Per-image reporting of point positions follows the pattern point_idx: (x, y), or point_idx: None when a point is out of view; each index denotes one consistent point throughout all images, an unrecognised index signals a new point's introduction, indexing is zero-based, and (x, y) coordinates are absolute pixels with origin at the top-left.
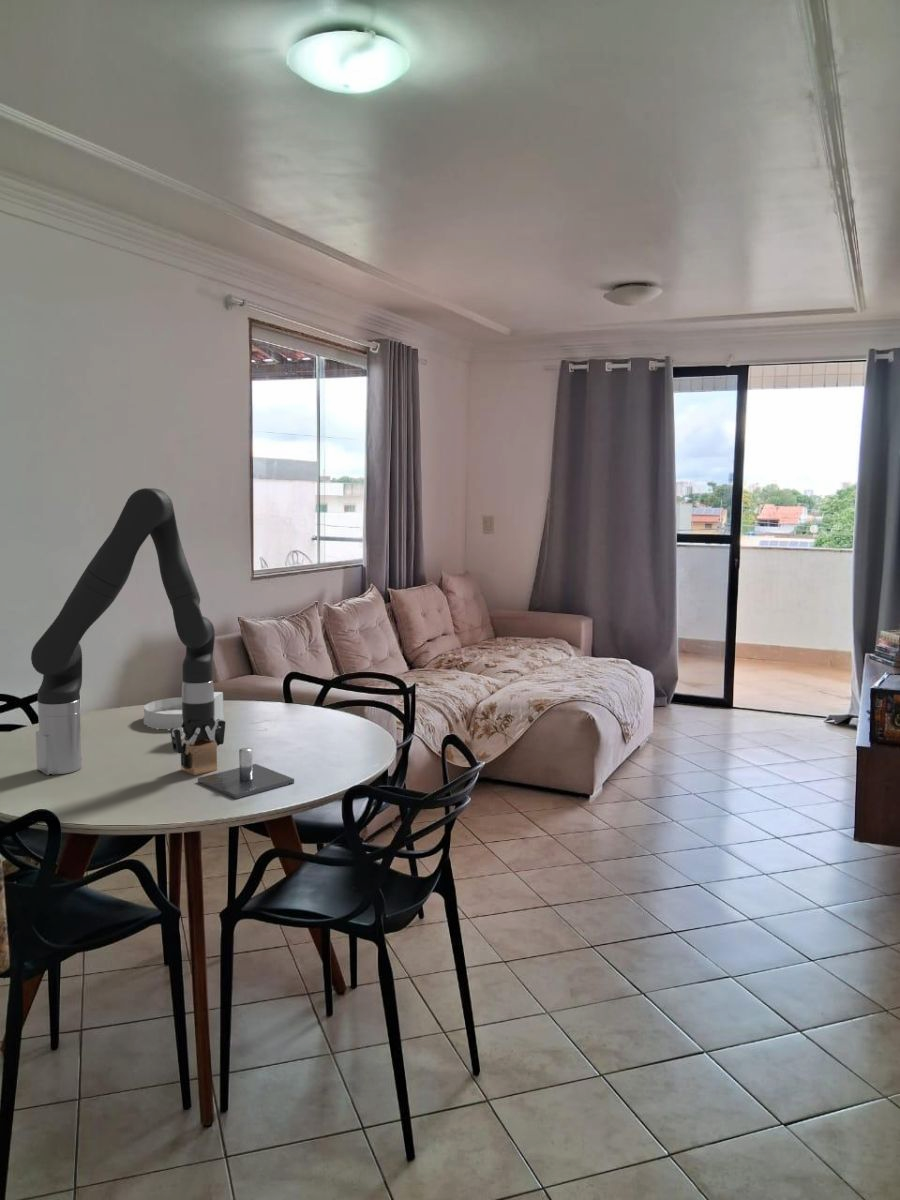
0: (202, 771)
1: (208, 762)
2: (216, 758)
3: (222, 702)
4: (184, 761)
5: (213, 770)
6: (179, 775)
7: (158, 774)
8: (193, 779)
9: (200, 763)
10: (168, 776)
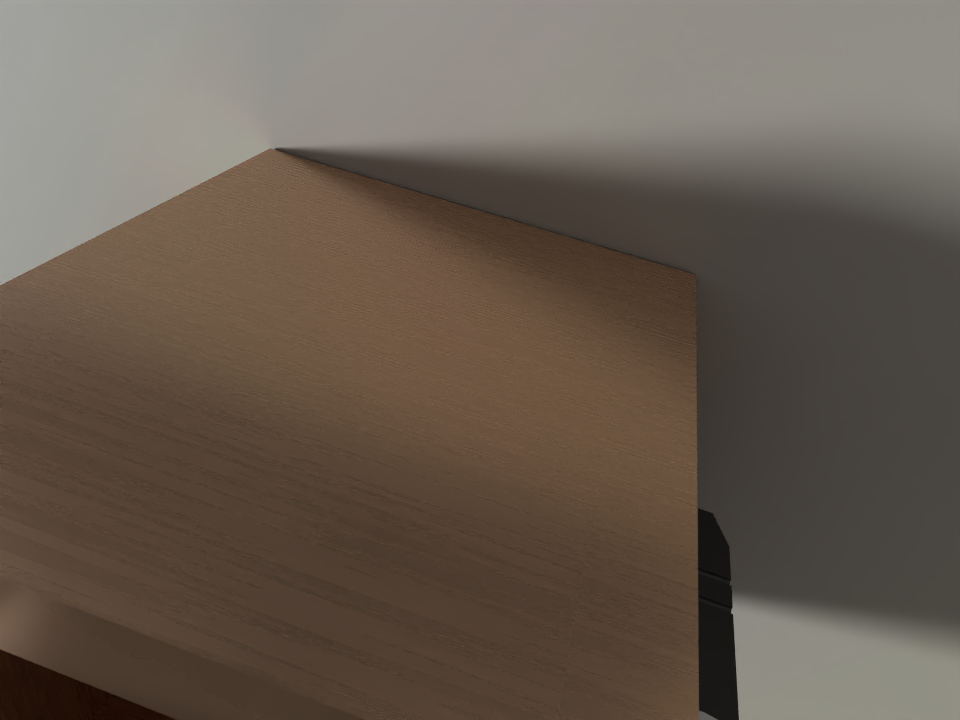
0: (530, 239)
1: (352, 259)
2: (139, 222)
3: None
4: (719, 605)
5: (328, 169)
6: (798, 467)
7: (875, 690)
8: (919, 124)
9: (536, 327)
10: (911, 565)
